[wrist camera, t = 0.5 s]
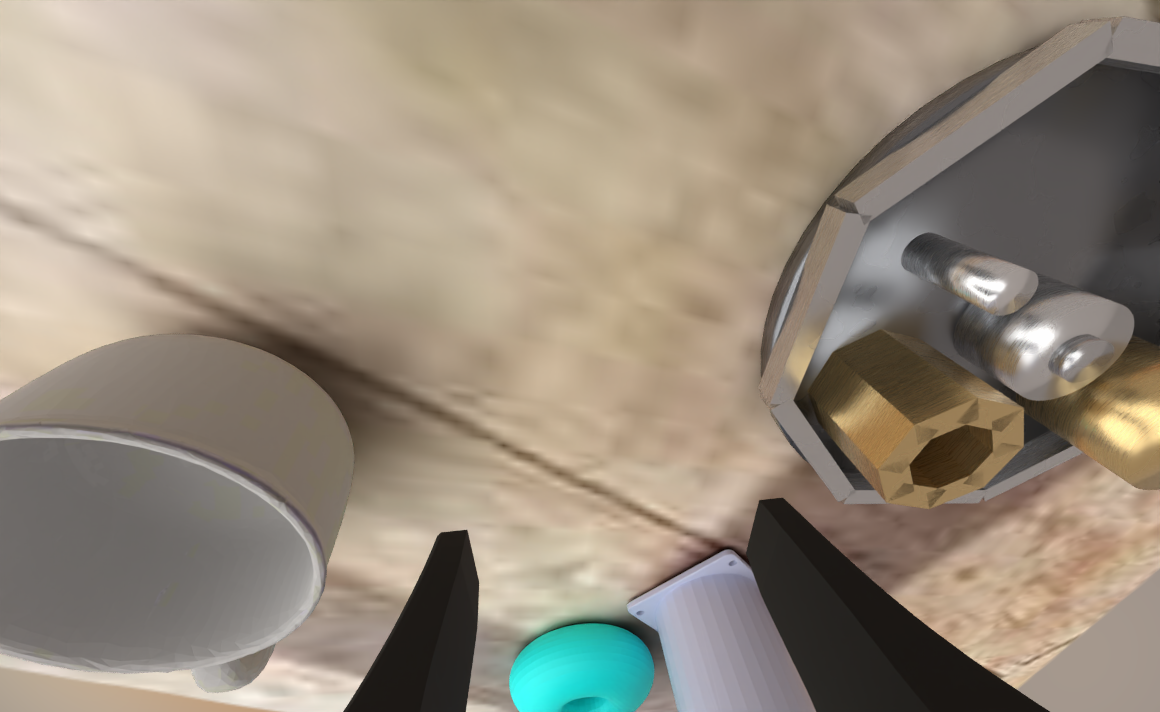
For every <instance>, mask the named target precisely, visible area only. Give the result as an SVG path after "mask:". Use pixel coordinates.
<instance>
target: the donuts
mask: <svg viewBox="0 0 1160 712" xmlns="http://www.w3.org/2000/svg"><path fill="white" fill-rule="evenodd" d="M653 679H654V663H653V659H652V656H651V654H650V651H649V649H648V648H647V646H646V645H645V644H644V643H643V641H642V640H641V639H640V638H639V637H637V636H636V635H634V634H633V633H631V632H629V631H628V630H625V629H623V628H620V627H617V626H613V625H608V624H599V623H587V624H576V625H571V626H566V627H562V628H559V629H556V630H553V631H550V632H548V633H546V634H544V635H542V636H540V637H538V638H537V639H535V640H534V641H532V642H531V643H530V644H529V645H527V646H526V647H525V648H524V649H523V650H522V652H521V653H520V654H519V655H518V657H517V658H516V660H515V662H514V664H513V667H512V670H511V674H510V683H509V687H510V693H511V697H512V699H513V702H514V704H515V706H516V707H517V709H518V710H519V711H520V712H634V711H635V710H636V709H637V708H638V707H639V706H640V705H641V704H642V703H643V702H644V700H645V699H646V697H647V696H648V694H649V692H650V690H651V687H652V684H653Z"/></svg>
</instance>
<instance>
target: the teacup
mask: <svg viewBox="0 0 1160 712" xmlns="http://www.w3.org/2000/svg"><path fill="white" fill-rule="evenodd" d="M353 471H354V449H353V443H352V438H351V435H350V432H349V429H348V426H347V423H346V421H345V419H344V417H343V415H342V414H341V412H340V410H339V408H338V407H337V405H336V404H335V403H334V401H333V400H332V399H331V397H330V396H329V395H328V394H327V393H326V392H325V391H324V390H323V389H322V388H321V387H320V386H319V385H318V384H317V383H316V382H315V381H314V380H312V379H311V378H310V377H309V376H308V375H306V374H305V373H304V372H302V371H301V370H299V369H298V368H296V367H295V366H293V365H292V364H290V363H288V362H286V361H284V360H283V359H281V358H279V357H277V356H275V355H273V354H270V353H268V352H266V351H263V350H261V349H259V348H256V347H253V346H250V345H246V344H243V343H240V342H236V341H232V340H228V339H223V338H219V337H212V336H204V335H196V334H159V335H150V336H142V337H136V338H131V339H127V340H122V341H119V342H116V343H112V344H109V345H105V346H102V347H100V348H97V349H94V350H91V351H89V352H87V353H85V354H82V355H80V356H78V357H76V358H74V359H72V360H69V361H67V362H65V363H64V364H62V365H60V366H58V367H56V368H55V369H53V370H51V371H49V372H47V373H46V374H44V375H42V376H40V377H38V378H37V379H35V380H33V381H31V382H30V383H28V384H26V385H25V386H23V387H21V388H20V389H18V390H16V391H15V392H13V393H11V394H10V395H8V396H6V397H5V398H3V399H1V400H0V654H3V655H7V656H11V657H15V658H19V659H22V660H26V661H30V662H34V663H38V664H41V665H48V666H55V667H62V668H67V669H72V670H79V671H87V672H111V673H124V674H126V673H148V672H166V673H168V672H172V671H176V670H189V669H191V671H192V675H193V678H194V680H195V682H196V684H197V686H198V687H199V688H201V689H202V690H204V691H206V692H209V693H218V692H228V691H232V690H236V689H239V688H241V687H243V686H245V685H247V684H249V683H251V682H252V681H253V680H254V679H255V678H256V677H257V676H258V675H259V674H260V673H261V672H262V670H263V669H264V668H265V666H266V664H267V662H268V660H269V658H270V656H271V655H272V653H273V650H274V647H275V644H276V643H277V642H279V641H280V640H282V639H284V638H285V637H287V636H288V635H289V634H291V633H292V632H293V631H294V630H295V629H297V628H298V627H299V626H300V625H302V623H303V622H304V621H305V620H306V619H307V618H308V617H309V616H310V614H311V613H312V612H313V610H314V609H315V607H316V605H317V604H318V602H319V600H320V597H321V595H322V593H323V591H324V587H325V582H326V575H327V565H328V562H329V559H330V556H331V553H332V550H333V547H334V544H335V541H336V538H337V535H338V532H339V529H340V526H341V523H342V519H343V516H344V512H345V508H346V505H347V501H348V497H349V493H350V489H351V484H352V479H353Z"/></svg>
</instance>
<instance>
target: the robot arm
mask: <svg viewBox="0 0 1160 712" xmlns="http://www.w3.org/2000/svg"><path fill="white" fill-rule="evenodd" d="M746 554H747V557H748V560H749V563H750V566H751V567H750V566H749V565H748V564H747V563H746V562H745V561H744V560H743V559H742V558H741V557H740V556H739V555H737V554H736V553H735V552H734V551H733V550H730V549H727V550H724V551H722V552H720V553H718V554H716V555H714V556H713V557H711V558H709V559H707V560H705V561H703V562H702V563H700V564H698V565H696V566H694V567H693V568H691V569H689V570H687V571H685V572H683V573H682V574H680V575H678V576H676V577H674V578H673V579H671V580H669V581H667V582H665V583H663V584H662V585H660V586H658V587H656V588H654V589H652V590H651V591H649V592H647V593H645V594H643V595H642V596H640V597H638V598H636V599H634V600H632V601H631V602H629V603H628V605H627V608H628V612H629V613H630V614H632V615H633V616H635V617H636V618H638V619H639V620H641V621H642V622H644V623H645V624H647V625H648V626H650V627H651V628H653V629H654V630H656V631H657V632H659V637H660V641H661V645H662V649H663V653H664V657H665V661H666V665H667V669H668V673H669V677H670V682H671V686H672V690H673V694H674V698H675V702H676V706H677V710H678V712H1050V711H1048V710H1046V709H1045V708H1043V707H1042V706H1040V705H1039V704H1037V703H1036V702H1034V701H1033V700H1031V699H1030V698H1028V697H1027V696H1025V695H1024V694H1022V693H1021V692H1019V691H1018V690H1016V689H1015V688H1013V687H1012V686H1010V685H1009V684H1007V683H1006V682H1004V681H1003V680H1001V679H1000V678H998V677H997V676H995V675H994V674H992V673H991V672H989V671H988V670H987V669H985V668H984V667H982V666H981V665H980V664H978V663H977V662H975V661H974V660H972V659H971V658H970V657H968V656H967V655H965V654H964V653H963V652H961V651H960V650H959V649H957V648H956V647H955V646H953V645H952V644H951V643H949V642H948V641H947V640H945V639H944V638H943V637H941V636H940V635H939V634H937V633H936V632H935V631H933V630H932V629H931V628H929V627H928V626H927V625H925V624H924V623H923V622H922V621H920V620H919V619H918V618H917V617H915V616H914V615H913V614H912V613H910V612H909V611H908V610H907V609H906V608H904V607H903V606H902V605H901V604H899V603H898V602H897V601H896V600H895V599H893V598H892V597H891V596H890V595H889V594H887V593H886V592H885V591H884V590H883V589H882V588H880V587H879V586H878V585H877V584H876V583H875V582H873V581H872V580H871V579H870V578H869V577H868V576H867V575H866V574H864V573H863V572H862V571H861V570H860V569H859V568H858V567H857V566H855V565H854V564H853V563H852V562H851V561H850V560H849V559H848V558H847V557H845V556H844V555H843V554H842V553H841V552H840V551H839V550H838V549H837V548H836V547H835V546H833V545H832V544H831V543H830V542H829V541H828V540H827V539H826V538H825V537H824V536H823V535H822V534H821V533H820V532H819V531H818V530H816V529H815V528H814V527H813V526H812V525H811V524H810V523H809V522H808V521H807V520H806V519H805V518H804V517H803V516H802V515H801V514H800V513H799V512H798V511H796V510H795V509H794V508H793V507H792V506H791V505H790V504H789V503H788V502H787V501H786V500H785V499H784V498H776V499H766V500H759V504H758V508H757V512H756V516H755V520H754V524H753V528H752V531H751V535H750V539H749V543H748V547H747V551H746ZM478 597H479V580H478V575H477V571H476V566H475V562H474V558H473V553H472V549H471V544H470V540H469V535H468V531H467V530H461V531H451V532H442V533H440V534H439V535H438V536H437V538H436V541H435V543H434V546H433V548H432V551H431V553H430V555H429V557H428V560H427V562H426V564H425V566H424V569H423V571H422V573H421V575H420V577H419V579H418V581H417V583H416V585H415V587H414V590H413V592H412V594H411V596H410V598H409V599H408V601H407V603H406V605H405V607H404V609H403V611H402V613H401V615H400V617H399V619H398V621H397V622H396V624H395V626H394V628H393V630H392V632H391V634H390V635H389V637H388V639H387V641H386V642H385V644H384V646H383V647H382V649H381V651H380V653H379V654H378V656H377V658H376V660H375V661H374V663H373V665H372V666H371V668H370V670H369V672H368V673H367V675H366V677H365V678H364V680H363V682H362V683H361V685H360V686H359V688H358V690H357V691H356V693H355V694H354V696H353V698H352V699H351V701H350V702H349V704H348V705H347V707H346V708H345V710H344V712H466V705H467V698H468V691H469V684H470V677H471V670H472V663H473V655H474V648H475V641H476V633H477V621H478Z"/></svg>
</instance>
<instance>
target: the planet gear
mask: <svg viewBox="0 0 1160 712" xmlns="http://www.w3.org/2000/svg"><path fill="white" fill-rule="evenodd" d="M807 392H808V395H809V398H810V401H811V404H812V407H813V410H814V413H815V416H816V418H817V421H818V423H819V424H820V425H821V426H822V428H823V429H824V430H825V431H826V432H827V433H828V435H829V436H830V437H831V438H832V439H833V441H834V442H835V443H836V444H837V445H838V446H839V448H840V449H841V450H842V451H843V452H844V453H845V455H846V456H847V457H848V458H849V459H850V461H851V462H852V463H853V464H854V465H855V466H856V468H857V469H858V470H859V471H860V472H861V473H862V475H863V476H864V477H865V478H866V479H867V480H868V482H869V483H870V484H871V485H872V486H873V488H874V489H875V490H876V491H877V492H878V493H879V495H880V496H881V497H882V498H883V499H884V500H885V502H886V503H891V504H898V505H905V506H912V507H919V508H926V509H931V508H933V507H936V506H938V505H941V504H943V503H946V502H948V501H951V500H953V499H956V498H958V497H961V496H963V495H965V494H968V493H970V492H973V491H975V490H978V489H980V488H983V487H984V486H985V485H986V484H987V483H988V482H989V481H990V480H991V479H992V478H993V477H994V476H995V475H996V474H997V473H998V472H999V471H1000V470H1001V469H1002V468H1003V467H1004V466H1005V465H1006V464H1007V463H1008V462H1009V461H1010V460H1011V459H1012V458H1013V457H1014V456H1015V455H1016V454H1017V453H1018V452H1019V451H1020V450H1021V449H1022V448H1023V447H1024V408H1023V407H1022V406H1020V405H1019V404H1017V403H1016V402H1014V401H1013V400H1011V399H1010V398H1008V397H1007V396H1005V395H1004V394H1002V393H1001V392H999V391H998V390H996V389H995V388H993V387H992V386H990V385H989V384H987V383H986V382H984V381H983V380H981V379H979V378H978V377H976V376H975V375H973V374H972V373H970V372H969V371H967V370H966V369H964V368H963V367H961V366H960V365H958V364H957V363H955V362H954V361H952V360H951V359H949V358H948V357H946V356H945V355H943V354H942V353H940V352H939V351H937V350H936V349H934V348H933V347H931V346H930V345H928V344H927V343H925V342H924V341H922V340H921V339H918V338H914V337H911V336H907V335H903V334H899V333H895V332H891V331H887V330H883V329H880V330H878V331H875V332H873V333H871V334H869V335H867V336H865V337H863V338H861V339H859V340H856V341H854V342H852V343H850V344H848V345H846V346H844V347H842V348H840V349H838V350H835V351H833V352H832V353H831V355H830V357H829V358H828V360H827V361H826V363H825V364H824V366H823V367H822V369H821V371H820V372H819V374H818V375H817V377H816V378H815V380H814V381H813V383H812V385H811V386H810V388H809V389H808V391H807Z"/></svg>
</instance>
